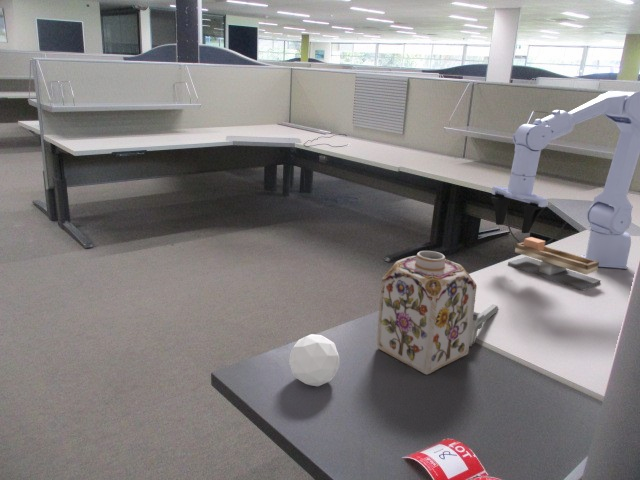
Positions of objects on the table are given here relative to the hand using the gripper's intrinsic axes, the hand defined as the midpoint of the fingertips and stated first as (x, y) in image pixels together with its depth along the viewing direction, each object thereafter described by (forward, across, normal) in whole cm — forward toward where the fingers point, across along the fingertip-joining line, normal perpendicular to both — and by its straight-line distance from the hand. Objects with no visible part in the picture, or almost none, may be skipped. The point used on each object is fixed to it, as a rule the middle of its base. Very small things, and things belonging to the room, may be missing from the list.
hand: (512, 228), depth 133 cm
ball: (+15, +18, -71) cm, 74 cm away
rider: (+5, +3, +6) cm, 9 cm away
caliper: (+12, +19, -32) cm, 39 cm away
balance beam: (+10, +9, +7) cm, 15 cm away
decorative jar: (+13, +20, -49) cm, 55 cm away
